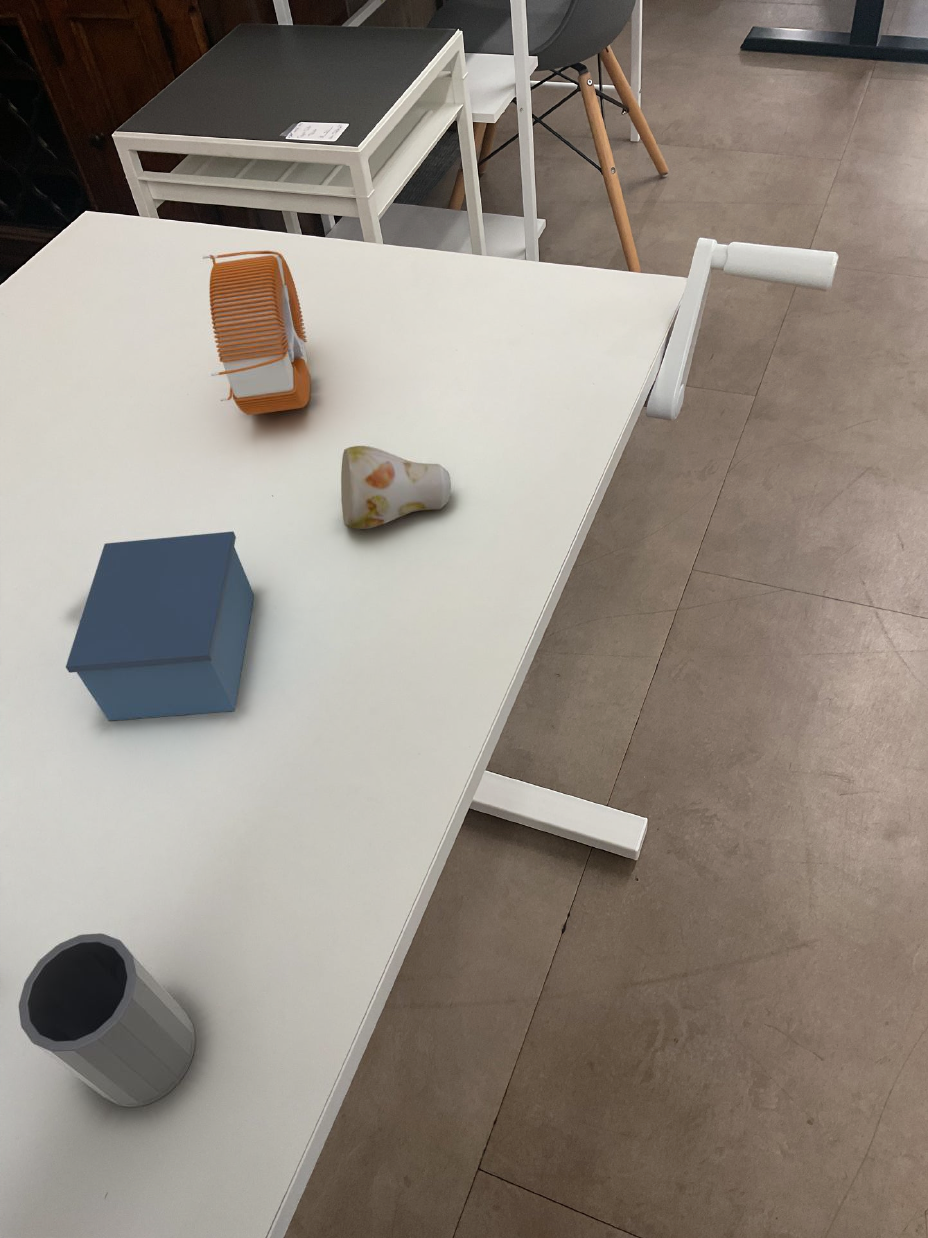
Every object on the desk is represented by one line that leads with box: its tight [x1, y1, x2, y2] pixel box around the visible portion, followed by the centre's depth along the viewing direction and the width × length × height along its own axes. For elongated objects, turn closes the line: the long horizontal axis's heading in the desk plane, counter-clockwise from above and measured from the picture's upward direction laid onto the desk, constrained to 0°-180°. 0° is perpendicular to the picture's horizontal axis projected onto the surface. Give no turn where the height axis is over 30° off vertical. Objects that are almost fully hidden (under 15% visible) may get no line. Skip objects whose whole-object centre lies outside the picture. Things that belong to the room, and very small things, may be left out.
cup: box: [18, 932, 196, 1108], centre depth 57 cm, size 6×6×10 cm
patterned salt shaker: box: [340, 445, 452, 530], centre depth 87 cm, size 8×10×10 cm
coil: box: [202, 250, 311, 416], centre depth 97 cm, size 7×15×15 cm, turn 4°
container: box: [65, 531, 255, 722], centre depth 79 cm, size 13×11×7 cm
